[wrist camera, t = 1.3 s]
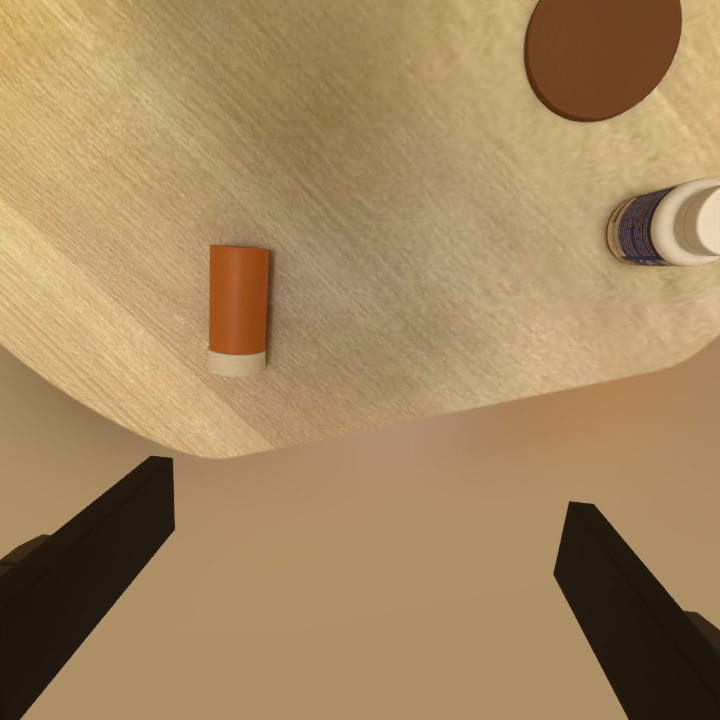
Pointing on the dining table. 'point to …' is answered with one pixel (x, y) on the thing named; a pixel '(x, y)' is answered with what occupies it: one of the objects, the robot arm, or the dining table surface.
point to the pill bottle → (669, 226)
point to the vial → (237, 311)
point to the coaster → (600, 53)
